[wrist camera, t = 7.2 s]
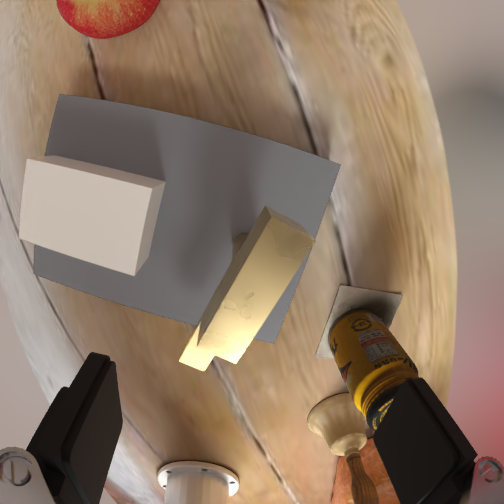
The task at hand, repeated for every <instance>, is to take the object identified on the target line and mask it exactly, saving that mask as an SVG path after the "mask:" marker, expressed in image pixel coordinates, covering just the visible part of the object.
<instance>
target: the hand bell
mask: <svg viewBox="0 0 504 504" xmlns="http://www.w3.org/2000/svg"><path fill="white" fill-rule="evenodd" d="M365 420H366V417H365V416H364V415H363V413H362V412H361V411H360V410H358V409H357V407H356V406H355V404H354V402H353V401H352V398H351V395H350V393H343V394H338V395H335V396H332V397H330V398H327V399H325V400H324V401H322V402H321V403H319V404H318V405H316V406H315V407H314V408H313V409H312V411H311V412H310V414H309V416H308V419H307V424H308V427H309V429H310V430H311V431H312V432H313V433H315V434H317V435H319V436H322V437H323V438H324V439H325V440H326V442H327V443H328V445H329V448H330V450H331V452H332V453H333V454H335V455H338V456H345V458H346V462H347V464H348V467H349V470H350V473H351V477H352V484H351V492H352V498H353V501H354V504H379V497H378V493H377V490H376V487H375V485H374V483H373V482H372V480H371V479H370V478H369V476H368V475H367V474H366V472H365V470H364V467H363V463H362V460H361V456H360V452H359V450H360V449H361V448H363V447H364V445H365V444H366V442H367V436H366V432H365Z"/></svg>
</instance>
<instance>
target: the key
mask: <svg viewBox="0 0 504 504" xmlns="http://www.w3.org/2000/svg"><path fill="white" fill-rule="evenodd" d="M314 242H315V240H314V239H313V237H312V236H311V235H310V234H309V233H308V231H307V230H306V229H305V228H304V227H303V226H302V225H301V224H299V223H297V222H295V221H293V220H292V219H290V218H288V217H286V216H284V215H283V214H281V213H279V212H277V211H275V210H273V209H272V208H270V207H268V206H266V205H265V206H264V208H263V210H262V212H261V213H260V215H259V217H258V219H257V221H256V222H255V224H254V226H253V228H252V229H251V231H250V233H241V234H239V235H237V236H236V237H235V238H234V240H233V243H232V262H231V264H230V266H229V267H228V269H227V271H226V273H225V274H224V276H223V278H222V280H221V282H220V283H219V285H218V287H217V289H216V291H215V292H214V294H213V296H212V298H211V300H210V301H209V303H208V305H207V307H206V309H205V311H204V312H203V314H202V316H201V318H200V320H199V321H198V323H197V325H196V327H195V329H194V330H193V332H192V334H191V336H190V338H189V340H188V341H187V343H186V345H185V347H184V349H183V351H182V352H181V354H180V358H179V361H180V362H182V363H184V364H187V365H189V366H191V367H194V368H196V369H199V370H201V371H205V370H206V368H207V367H208V365H209V363H210V362H211V360H212V359H213V357H214V355H215V356H217V357H220V358H222V359H225V360H227V361H230V362H232V363H235V364H236V363H237V362H238V360H239V359H240V357H241V356H242V354H243V353H244V351H245V350H246V348H247V347H248V345H249V344H250V342H251V341H252V339H253V338H254V336H255V335H256V333H257V332H258V330H259V329H260V327H261V326H262V324H263V323H264V321H265V320H266V318H267V317H268V315H269V314H270V312H271V311H272V309H273V308H274V306H275V304H276V303H277V301H278V300H279V298H280V297H281V295H282V294H283V292H284V290H285V289H286V287H287V286H288V284H289V283H290V281H291V279H292V278H293V276H294V275H295V273H296V271H297V270H298V268H299V267H300V265H301V263H302V262H303V260H304V259H305V257H306V255H307V254H308V252H309V250H310V249H311V247H312V246H313V244H314Z"/></svg>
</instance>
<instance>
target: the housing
mask: <svg viewBox="0 0 504 504" xmlns="http://www.w3.org/2000/svg"><path fill="white" fill-rule="evenodd" d="M52 155H55V156H60V157H65V158H69V159H74V160H78V161H83V162H87V163H92V164H96V165H100V166H104V167H109V168H113V169H117V170H121V171H125V172H129V173H133V174H137V175H141V176H145V177H149V178H153V179H157V180H161V181H165V182H166V183H165V187H164V191H163V195H162V199H161V203H160V207H159V211H158V216H157V220H156V225H155V229H154V234H153V239H152V243H151V248H150V253H149V257H148V258H147V260H146V261H145V262H144V264H143V265H142V266H141V268H140V269H139V271H138V272H137V273H136V275H135V276H132V275H129V274H126V273H122V272H119V271H116V270H112V269H109V268H106V267H103V266H100V265H96V264H93V263H90V262H87V261H84V260H81V259H78V258H75V257H72V256H68V255H65V254H62V253H59V252H56V251H54V250H51V249H48V248H45V247H42V246H39V245H36V244H35V245H34V274H35V275H38V276H40V277H43V278H46V279H48V280H51V281H54V282H56V283H59V284H62V285H65V286H67V287H70V288H73V289H76V290H79V291H82V292H85V293H88V294H91V295H94V296H97V297H100V298H103V299H106V300H109V301H112V302H115V303H118V304H121V305H125V306H128V307H131V308H135V309H138V310H141V311H145V312H148V313H151V314H155V315H158V316H162V317H166V318H169V319H173V320H176V321H180V322H184V323H188V324H191V325H195V326H196V325H197V323H198V321H199V320H200V318H201V316H202V314H203V312H204V311H205V309H206V307H207V305H208V303H209V301H210V300H211V298H212V296H213V294H214V292H215V291H216V289H217V287H218V285H219V283H220V282H221V280H222V278H223V276H224V274H225V273H226V271H227V269H228V267H229V266H230V264H231V262H232V243H233V240H234V238H235V237H236V236H237V235H239V234H241V233H250V231H251V229H252V228H253V226H254V224H255V222H256V221H257V219H258V217H259V215H260V213H261V212H262V210H263V208H264V206H265V205H266V206H268V207H270V208H272V209H273V210H275V211H277V212H279V213H281V214H283V215H284V216H286V217H288V218H290V219H292V220H293V221H295V222H297V223H299V224H301V225H302V226H303V227H304V228H305V229H306V230H307V231H308V233H309V234H310V235H311V236H312V237H313V239H314V240H315V238H316V235H317V232H318V229H319V226H320V224H321V221H322V218H323V215H324V212H325V210H326V207H327V204H328V201H329V198H330V195H331V192H332V189H333V186H334V183H335V180H336V177H337V174H338V171H339V168H340V165H341V164H338V163H335V162H333V161H330V160H327V159H325V158H322V157H319V156H316V155H314V154H311V153H308V152H305V151H302V150H299V149H297V148H294V147H291V146H288V145H285V144H282V143H279V142H275V141H272V140H269V139H266V138H263V137H260V136H256V135H253V134H250V133H246V132H243V131H239V130H236V129H232V128H229V127H225V126H221V125H218V124H214V123H210V122H206V121H202V120H198V119H194V118H190V117H186V116H182V115H178V114H173V113H169V112H164V111H160V110H155V109H150V108H145V107H140V106H135V105H130V104H124V103H119V102H113V101H107V100H100V99H94V98H87V97H80V96H72V95H64V94H59V98H58V101H57V105H56V108H55V112H54V116H53V120H52V124H51V129H50V133H49V138H48V143H47V147H46V153H45V156H52ZM311 248H312V247H311ZM310 251H311V249H310V250H309V252H308V254H307V255H306V257H305V259H304V260H303V262H302V263H301V265H300V267H299V268H298V270H297V271H296V273H295V275H294V276H293V278H292V279H291V281H290V283H289V284H288V286H287V287H286V289H285V290H284V292H283V294H282V295H281V297H280V298H279V300H278V301H277V303H276V304H275V306H274V308H273V309H272V311H271V312H270V314H269V315H268V317H267V318H266V320H265V321H264V323H263V324H262V326H261V327H260V329H259V330H258V332H257V333H256V335H255V336H254V338H253V339H254V340H259V341H263V342H268V343H273V344H274V343H275V340H276V338H277V335H278V333H279V331H280V328H281V326H282V323H283V321H284V318H285V316H286V313H287V311H288V308H289V306H290V303H291V301H292V298H293V296H294V293H295V291H296V288H297V285H298V283H299V280H300V278H301V275H302V272H303V270H304V267H305V264H306V262H307V259H308V256H309V254H310Z"/></svg>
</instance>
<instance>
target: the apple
mask: <svg viewBox="0 0 504 504" xmlns="http://www.w3.org/2000/svg"><path fill="white" fill-rule="evenodd" d="M159 1H160V0H57V7H58V10H59V12H60V14H61V15H62V17H63V18H64V19H65V21H66V22H67V23H68V24H69V25H70V26H72V27H73V28H74V29H75V30H77V31H78V32H80V33H82V34H84V35H86V36H89V37H93V38H97V39H106V38H112V37H116V36H120V35H123V34H125V33H128V32H130V31H132V30H134V29H136V28H138V27H139V26H141V25H142V24H144V23H145V22H146V21H147V20H148V19H149V18H150V17H151V15H152V14H153V13H154V11H155V9H156V7H157V5H158V3H159Z"/></svg>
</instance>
